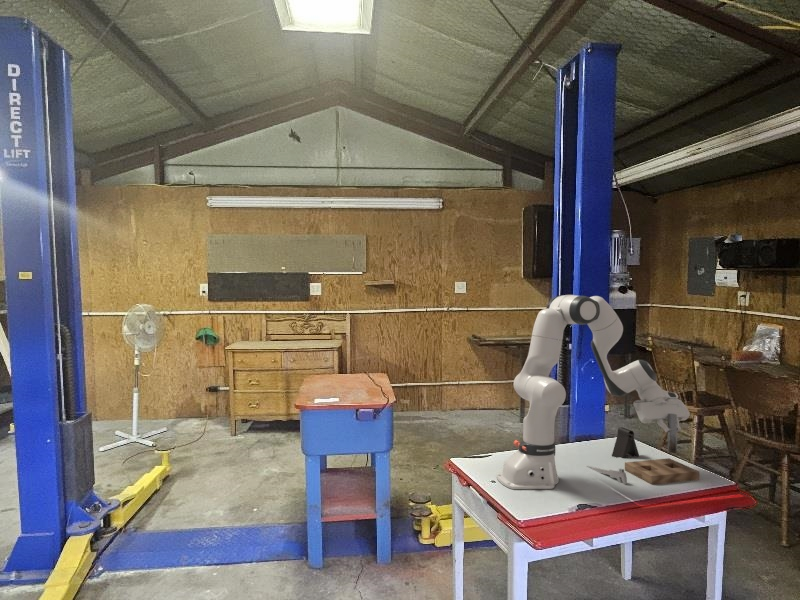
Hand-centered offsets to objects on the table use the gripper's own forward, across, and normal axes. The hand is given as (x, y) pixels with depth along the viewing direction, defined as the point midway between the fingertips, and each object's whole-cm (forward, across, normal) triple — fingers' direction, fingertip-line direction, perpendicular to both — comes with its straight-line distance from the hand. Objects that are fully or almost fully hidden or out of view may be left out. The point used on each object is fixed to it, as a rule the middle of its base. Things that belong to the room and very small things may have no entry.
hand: (673, 430), depth 176 cm
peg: (+5, 0, +6) cm, 8 cm away
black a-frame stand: (-4, -3, +28) cm, 29 cm away
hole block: (+12, -5, +13) cm, 18 cm away
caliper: (+8, -25, +16) cm, 31 cm away
